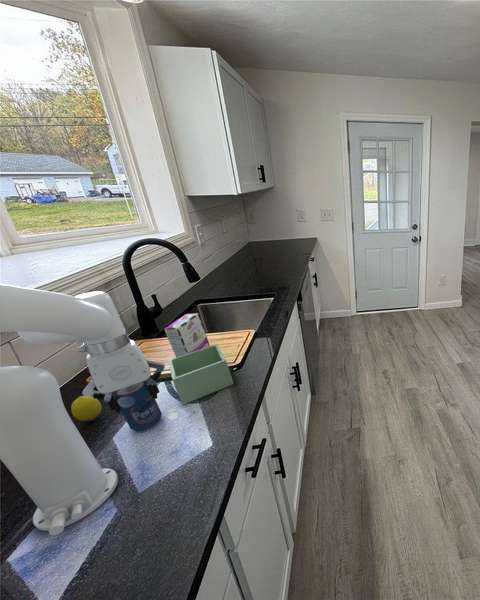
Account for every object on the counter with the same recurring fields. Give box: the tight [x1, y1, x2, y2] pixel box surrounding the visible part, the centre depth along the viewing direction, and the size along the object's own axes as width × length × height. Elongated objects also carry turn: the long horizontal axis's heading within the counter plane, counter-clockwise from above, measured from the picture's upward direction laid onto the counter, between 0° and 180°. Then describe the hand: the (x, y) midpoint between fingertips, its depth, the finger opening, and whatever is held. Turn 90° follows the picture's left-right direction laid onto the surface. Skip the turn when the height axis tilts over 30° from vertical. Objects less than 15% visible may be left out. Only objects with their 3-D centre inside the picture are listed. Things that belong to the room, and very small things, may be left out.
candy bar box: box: [163, 312, 211, 358], centre depth 108 cm, size 11×5×16 cm, turn 179°
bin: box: [167, 343, 235, 406], centre depth 97 cm, size 14×14×9 cm
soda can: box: [115, 381, 163, 433], centre depth 81 cm, size 7×7×12 cm
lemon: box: [70, 395, 102, 422], centre depth 85 cm, size 6×6×8 cm
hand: (137, 402), depth 81 cm, fingers closed on soda can, 7 cm apart
